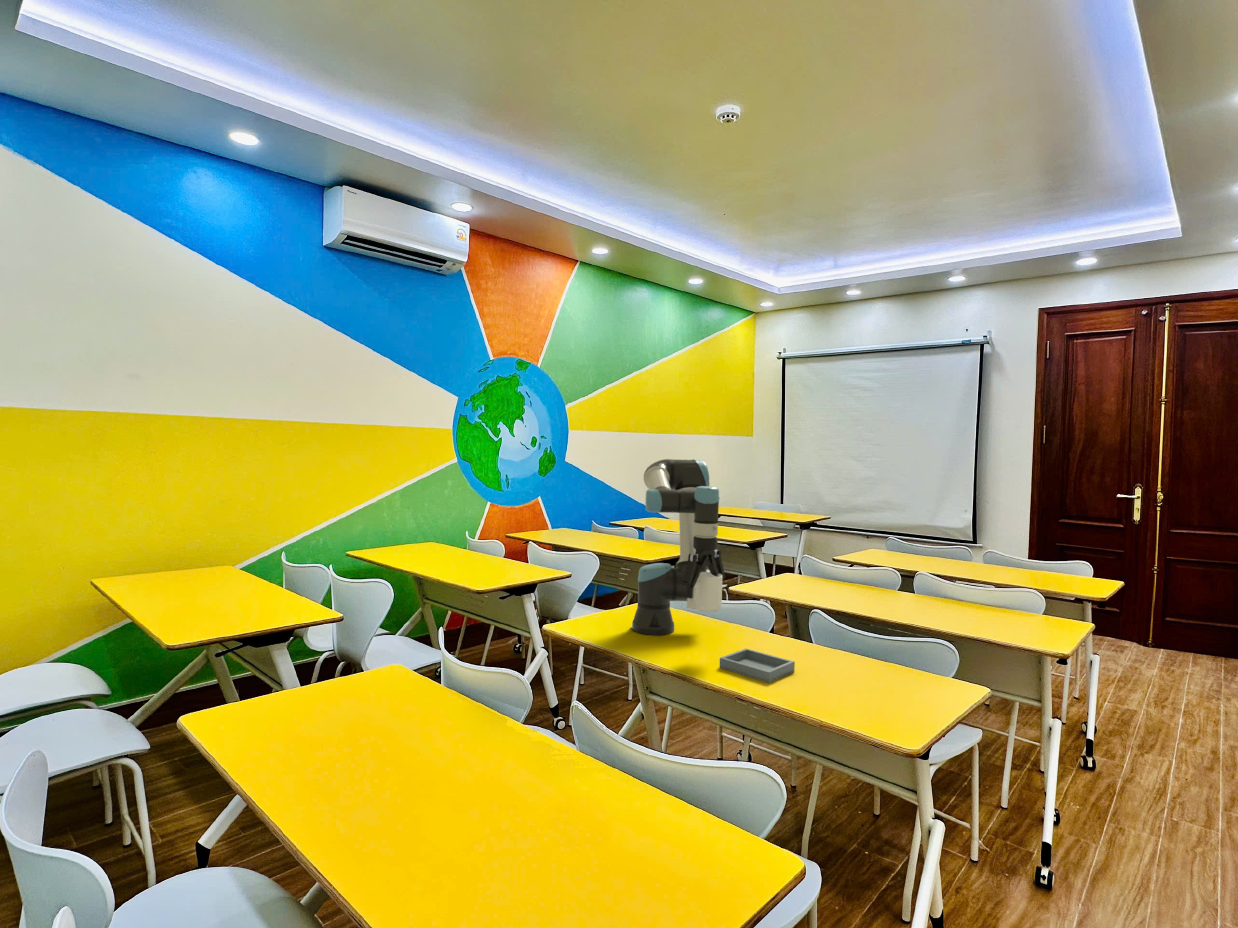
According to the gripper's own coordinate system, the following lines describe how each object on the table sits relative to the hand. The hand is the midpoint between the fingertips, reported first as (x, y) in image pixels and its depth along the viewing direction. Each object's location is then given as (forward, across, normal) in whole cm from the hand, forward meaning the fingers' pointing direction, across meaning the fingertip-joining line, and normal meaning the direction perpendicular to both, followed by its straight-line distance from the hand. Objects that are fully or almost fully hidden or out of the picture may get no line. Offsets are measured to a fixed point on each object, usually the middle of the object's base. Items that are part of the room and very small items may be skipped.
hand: (703, 604), depth 210 cm
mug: (+2, 0, 0) cm, 2 cm away
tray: (+16, +3, -18) cm, 25 cm away
